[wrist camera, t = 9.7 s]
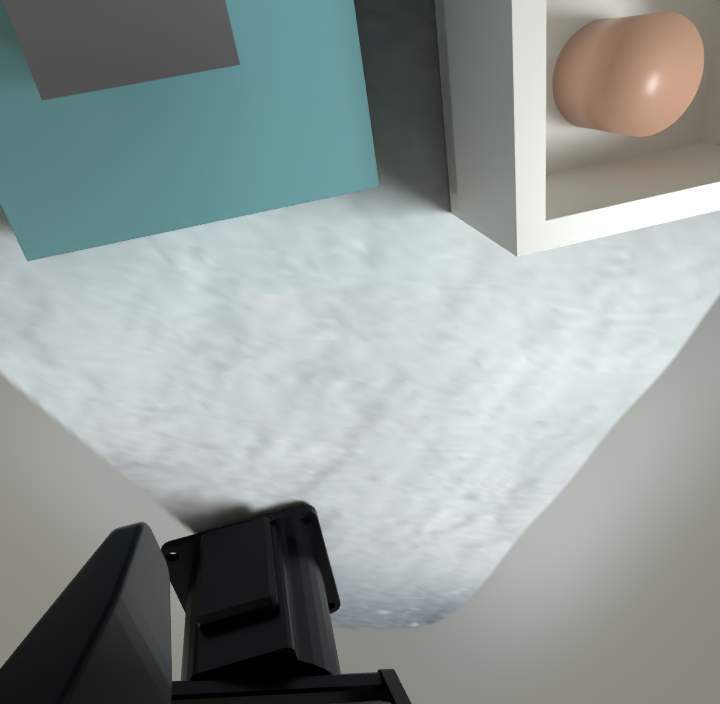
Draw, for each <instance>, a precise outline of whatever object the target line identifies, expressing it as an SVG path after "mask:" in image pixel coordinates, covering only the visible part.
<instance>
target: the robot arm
mask: <svg viewBox="0 0 720 704" xmlns="http://www.w3.org/2000/svg"><path fill="white" fill-rule="evenodd" d="M304 516H309V517H308V518H304V519H302V517H304ZM172 552H175V553H177V554H170V553H172ZM170 582H171V584H172V586H173V588H174V590H175V592H176V594H177V596H178V598H179V601H180V602H181V605H182V607H183V609H184V611H185V613H186V617H185V630H184V644H183V656H182V670H181V681H172V662H171V661H172V660H171V619H170V618H171V616H170ZM329 602H330V603H329ZM339 607H340V599H339V595H338V591H337V587H336V583H335V580H334V576H333V572H332V568H331V565H330V561H329V557H328V553H327V550H326V546H325V542H324V538H323V535H322V531H321V527H320V523H319V520H318V516H317V512H316V510H315V508H314V507H313V506H311V505H301V506H297V507H294V508H290V509H286V510H283V511H279V512H275V513H272V514H268V515H264V516H260V517H257V518H253V519H249V520H246V521H242V522H238V523H235V524H231V525H227V526H223V527H220V528H216V529H212V530H209V531H205V532H201V533H198V534H194V535H190V536H187V537H183V538H179V539H176V540H172V541H169V542H166V543H165V544H164V545H163V546H162V548H161V550H160V547H159V545H158V543H157V541H156V539H155V537H154V535H153V533H152V530H151V529H150V527H149V526H148V525H147V524H146V523H144V522H139V523H135V524H131V525H127V526H123V527H119V528H117V529H115V530H113V532H111V533H110V534H109V536H108V537H107V538H106V539H105V541H104V542H103V543H102V544H101V545H100V547H99V548H98V549H97V550H96V552H95V553H94V554H93V555H92V556H91V558H90V559H89V560H88V561H87V563H86V564H85V565H84V566H83V568H82V569H81V570H80V571H79V573H78V574H77V575H76V576H75V577H74V579H73V580H72V581H71V582H70V584H69V585H68V586H67V587H66V589H65V590H64V591H63V592H62V593H61V595H60V596H59V597H58V598H57V599H56V601H55V602H54V603H53V604H52V606H51V607H50V608H49V609H48V611H47V612H46V613H45V614H44V615H43V617H42V618H41V619H40V620H39V622H38V623H37V624H36V625H35V627H34V628H33V629H32V630H31V631H30V633H29V634H28V635H27V637H26V638H25V639H24V640H23V641H22V643H21V644H20V645H19V646H18V647H17V649H16V650H15V651H14V652H13V654H12V655H11V656H10V657H9V659H8V660H7V661H6V662H5V664H4V665H3V666H2V667H1V668H0V704H411V702H410V700H409V698H408V696H407V694H406V692H405V690H404V688H403V686H402V684H401V683H400V680H399V678H398V676H397V674H396V672H395V670H394V669H379V670H378V672H372V673H351V674H341V672H340V666H339V661H338V656H337V650H336V645H335V639H334V634H333V629H332V623H331V618H330V613H333V612H335V611H337V610H338V609H339Z"/></svg>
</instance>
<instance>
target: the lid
mask: <svg viewBox="0 0 720 704" xmlns="http://www.w3.org/2000/svg"><path fill="white" fill-rule="evenodd" d="M377 187H379V180H378V172H377V165H376V158H375V151H374V144H373V136H372V129H371V122H370V115H369V107H368V100H367V93H366V86H365V79H364V71H363V64H362V57H361V50H360V42H359V35H358V28H357V21H356V14H355V6H354V0H0V204H1V206H2V208H3V210H4V213H5V215H6V217H7V219H8V221H9V223H10V225H11V227H12V230H13V232H14V234H15V236H16V238H17V240H18V242H19V244H20V247H21V249H22V251H23V253H24V255H25V257H26V259H27V261H31V260H35V259H40V258H45V257H50V256H54V255H59V254H64V253H69V252H73V251H78V250H83V249H88V248H92V247H97V246H102V245H107V244H111V243H116V242H121V241H126V240H130V239H135V238H140V237H145V236H149V235H154V234H159V233H164V232H168V231H173V230H178V229H183V228H187V227H192V226H197V225H201V224H206V223H211V222H216V221H220V220H225V219H230V218H235V217H239V216H244V215H249V214H254V213H258V212H263V211H268V210H273V209H277V208H282V207H287V206H292V205H296V204H301V203H306V202H311V201H315V200H320V199H325V198H330V197H334V196H339V195H344V194H349V193H353V192H358V191H363V190H367V189H372V188H377Z"/></svg>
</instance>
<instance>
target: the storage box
mask: <svg viewBox="0 0 720 704" xmlns="http://www.w3.org/2000/svg"><path fill="white" fill-rule="evenodd" d="M435 13H436V26H437V38H438V51H439V64H440V77H441V89H442V102H443V115H444V127H445V140H446V153H447V166H448V178H449V191H450V204H451V213H452V214H453V215H455V216H456V217H458V218H459V219H461V220H462V221H464V222H465V223H467V224H468V225H470V226H471V227H473V228H474V229H476V230H477V231H479V232H481V233H482V234H484V235H485V236H487V237H488V238H490V239H491V240H493V241H494V242H496V243H497V244H499V245H500V246H502V247H503V248H505V249H506V250H508V251H509V252H511V253H512V254H514V255H515V256H517V257H518V256H523V255H527V254H531V253H536V252H540V251H544V250H549V249H553V248H557V247H562V246H566V245H570V244H575V243H579V242H583V241H588V240H592V239H596V238H601V237H605V236H609V235H614V234H618V233H622V232H627V231H631V230H635V229H640V228H644V227H648V226H653V225H657V224H661V223H666V222H670V221H674V220H679V219H683V218H687V217H692V216H696V215H700V214H705V213H709V212H713V211H718V210H720V0H435Z"/></svg>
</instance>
